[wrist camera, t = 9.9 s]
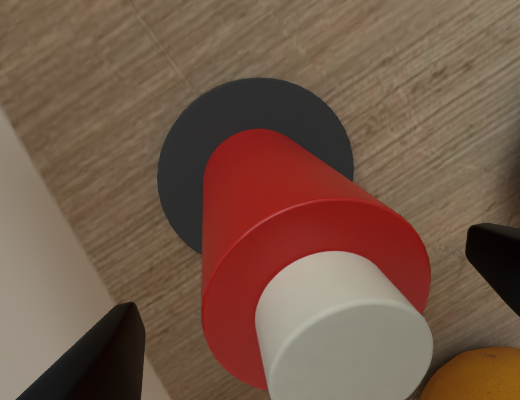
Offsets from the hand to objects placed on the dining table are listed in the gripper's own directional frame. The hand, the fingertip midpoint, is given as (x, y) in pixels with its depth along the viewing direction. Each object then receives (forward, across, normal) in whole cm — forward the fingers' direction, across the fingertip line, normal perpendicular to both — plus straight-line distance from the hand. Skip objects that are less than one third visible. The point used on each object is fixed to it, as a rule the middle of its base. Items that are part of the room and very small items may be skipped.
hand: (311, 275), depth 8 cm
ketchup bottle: (+8, 0, 0) cm, 8 cm away
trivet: (+8, 0, 0) cm, 8 cm away
